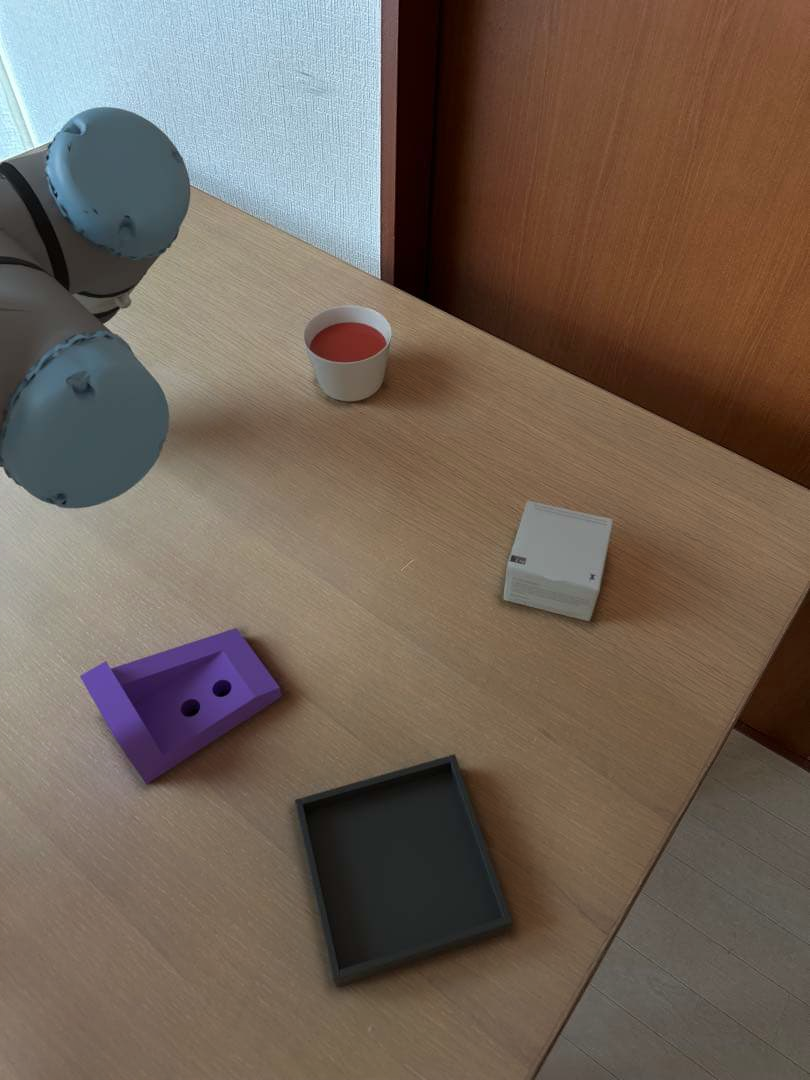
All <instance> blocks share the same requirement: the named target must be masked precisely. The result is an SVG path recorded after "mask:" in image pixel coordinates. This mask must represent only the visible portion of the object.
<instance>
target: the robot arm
mask: <svg viewBox="0 0 810 1080" xmlns="http://www.w3.org/2000/svg"><path fill="white" fill-rule="evenodd" d="M190 201H191V182H190V176H189V172H188V169H187V166H186V164H185V160H184V158H183V156H182V154H181V153H180V152H179V150H178V148H177V146H176V145H175V144H174V143H173V142H172V140H171V139H170V137H168V135H167V134H166V133H164V131H163V130H161V128H159V127H158V126H157V125H156V124H154V123H153V122H152V121H151V120H148V119H147V118H146V117H144V116H141V115H139V114H137V113H135V112H133V111H130V110H127V109H124V108H118V107H113V106H112V107H111V106H110V107H109V106H100V107H93V108H88V109H86V110H83V111H81V112H79V113H77V114H75V115H74V116H73V117H70V119H69V120H68V121H67V122H65V123H64V125H63V126H62V127H61V129H60V131H57V133H56V134H55V135H54V136H53V140H52V141H51V142H50V143H49V144H48V146H47V149H45V150H42V151H38V152H34V153H31V154H27V155H23V156H19V157H15V158H12V159H9V160H5V161H3V162H0V468H3V470H4V473H5V475H6V476H7V477H8V479H12V481H13V482H14V483H15V484H16V485H18V486H19V487H22V488H23V489H24V490H25V491H26V492H27V493H28V494H30V495H31V496H33V497H35V498H36V499H38V500H40V501H41V502H44V503H47V504H50V505H52V506H53V505H54V506H57V507H58V508H61V509H62V508H63V509H85V508H90V507H94V506H98V505H99V506H100V505H101V504H103V503H106V502H108V501H111V500H114V499H116V498H118V497H119V496H122V495H123V494H125V493H127V492H128V491H129V490H131V489H132V488H133V487H135V486H136V485H138V483H139V482H140V481H142V479H144V477H145V476H146V475H148V473H149V472H150V471H151V469H152V468H153V467H154V466H155V464H156V462H158V460H159V458H160V456H161V453H162V450H163V447H164V444H165V442H166V441H167V434H168V432H169V427H170V410H169V404H168V400H167V398H166V395H165V392H164V390H163V388H162V386H161V385H160V383H159V382H158V381H157V380H156V378H155V377H154V376H153V374H151V373H150V371H149V370H148V369H147V368H146V367H145V365H144V364H142V362H141V361H140V360H139V359H138V358H137V356H136V355H135V353H134V352H133V350H132V348H131V346H130V344H128V342H127V341H126V340H125V339H124V338H123V337H121V336H120V335H119V334H116V333H113V332H112V331H111V330H110V329H109V328H108V327H107V326H106V325H105V324H106V323H108V322H109V321H111V320H112V319H113V318H114V317H115V316H116V314H118V312H119V311H120V309H121V310H123V309H127V308H130V307H131V304H132V299H131V297H130V295H131V293H133V291H134V290H135V288H136V287H137V285H138V284H139V283H140V281H142V279H143V278H144V277H145V276H146V275H147V272H148V271H149V269H150V268H151V267H152V266H153V265H154V264H155V262H156V261H157V260H158V259H159V257H160V256H161V255H163V254H165V253H166V252H167V249H170V248H171V246H173V245H172V244H173V243H174V242H175V241H177V240H176V239H177V238H178V236H179V232H180V227H181V226H182V224H183V222H184V220H185V218H186V217H187V214H188V210H189V206H190Z"/></svg>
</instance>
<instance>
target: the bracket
mask: <svg viewBox="0 0 810 1080" xmlns="http://www.w3.org/2000/svg"><path fill="white" fill-rule="evenodd" d="M79 677H80V680H81V681H82V683H83V684H84V687H85V688H86V690H87V691H88V694H89V695H90V697H91V699H92V700H93V703H94V704H95V705H96V707H97V709H98V711H99V713H100V714H101V716H102V718H103V720H104V721H105V724H106V725H107V727H108V728H109V730H110V732H111V733H112V735H113V737H114V738H115V740H116V742H117V744H118V745H119V747H120V749H121V750H122V751H123V753H124V754H125V757H126V758H127V759H128V760H129V762H130V763H131V764H132V766H133V768H134V769H135V770H136V772H137V774H138V775H139V776H140V777H141V779H142V780H143V782H144V783H145V785H147V784H149V783H151V782H152V781H154V780H156V779H158V778H159V777H160V776H161V775H163V774H165V773H166V772H168V771H169V770H170V769H172V768H174V767H175V766H177V765H178V764H180V763H181V762H183V761H185V760H187V758H190V757H191V756H192V755H194V754H195V753H197V752H198V751H200V750H202V749H203V748H205V747H207V746H208V745H209V744H211V743H213V742H214V741H216V740H217V739H219V738H220V737H222V736H223V735H225V734H226V733H228V732H230V731H231V730H232V729H234V728H236V727H238V726H239V725H241V724H242V723H243V722H245V721H247V720H248V719H250V718H251V717H253V716H255V715H256V714H257V713H259V712H261V711H262V710H264V709H265V708H267V707H268V706H270V705H271V704H273V703H274V702H276V701H278V700H279V699H281V698H282V697H283V694H282V691H281V687H280V686H279V684H278V683H277V682H276V680H275V679H274V677H273V676H272V675H271V673H270V672H269V670H268V669H267V668H266V666H265V665H264V664H263V662H262V661H261V660H260V659H259V657H258V656H257V654H256V653H255V652H254V650H253V649H252V647H251V646H250V644H249V643H248V642H247V640H246V639H245V638H244V636H243V635H242V633H241V632H240V631H239V630H238V629H237V627H235V628H232V629H231V628H230V629H229V630H225V631H222V632H219V633H216V634H213V635H210V636H207V637H204V638H201V639H198V640H194V641H191V642H188V643H185V644H183V645H178V646H176V647H173V648H170V649H167V650H164V651H160V652H157V653H153V654H151V655H148V656H144V657H142V658H138V659H136V660H133V661H129V662H126V663H124V664H123V663H122V664H120V665H117V666H114V667H110V665H109V663H108V662H107V661H106V660H105V661H103V662H101V663H99V664H98V665H96V666H95V667H93V668H91V669H89V670H87V671H86V672H84V673H82V674H81V675H80V676H79ZM227 691H229V692H228V694H226V695H224V696H219V695H220V694H222V693H224V692H227ZM197 710H198V712H197V713H196V714H194V715H192V716H188V715H189V714H190V713H192V712H194V711H197Z"/></svg>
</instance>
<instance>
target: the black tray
mask: <svg viewBox="0 0 810 1080" xmlns="http://www.w3.org/2000/svg"><path fill="white" fill-rule="evenodd" d="M467 788H468V787H467V786H466V782H465V780H464V777H463V774H462V771H461V768H460V765H459V762H458V759H457V757H456V754H451V755H447V756H444V757H440V758H436V759H433V760H431V761H427V762H423V763H419V764H415V765H412V766H408V767H405V768H402V769H397V770H395V771H391V772H388V773H383V774H381V775H377V776H374V777H370V778H366V779H363V780H360V781H359V780H358V781H356V782H352V783H349V784H346V785H342V786H338V787H335V788H331V789H327V790H325V791H321V792H317V793H313V794H311V795H307V796H303V797H300V798H297V799H294V803H295V808H296V813H297V818H298V823H299V827H300V832H301V836H302V841H303V845H304V846H303V847H304V851H305V856H306V860H307V864H308V869H309V873H310V874H309V875H310V878H311V883H312V888H313V893H314V897H315V902H316V906H317V911H318V916H319V920H320V924H321V928H322V934H323V938H324V942H325V948H326V953H327V957H328V961H329V967H330V971H331V976H332V980H333V982H334V985H335V987H336V988H340V987H342V986H346V985H348V984H352V983H355V982H358V981H361V980H364V979H367V978H370V977H374V976H376V975H380V974H382V973H386V972H389V971H392V970H395V969H398V968H401V967H403V966H404V967H405V966H407V965H410V964H413V963H416V962H420V961H422V960H426V959H429V958H432V957H435V956H438V955H441V954H444V953H447V952H450V951H454V950H456V949H458V948H459V949H460V948H462V947H465V946H468V945H472V944H474V943H478V942H480V941H485V940H487V939H490V938H493V937H496V936H499V935H502V934H505V933H509V932H510V930H511V928H512V925H513V919H512V916H511V913H510V910H509V908H508V905H507V901H506V899H505V896H504V894H503V889H502V887H501V885H500V881H499V879H498V876H497V873H496V870H495V867H494V864H493V861H492V858H491V855H490V852H489V850H488V847H487V844H486V841H485V838H484V834H483V832H482V829H481V826H480V824H479V821H478V817H477V815H476V812H475V809H474V807H473V803H472V801H471V798H470V797H471V796H470V794H469V791H468V789H467Z"/></svg>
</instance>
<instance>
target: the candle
mask: <svg viewBox="0 0 810 1080" xmlns="http://www.w3.org/2000/svg"><path fill="white" fill-rule="evenodd" d="M392 336H393V332H392V326H391V323H390V322H389V320H388V319H387V318H386V317H385V316H384V315H383V314H381V313H380V312H378V311H376V310H374V309H372V308H369V307H367V306H366V307H365V306H360V305H351V304H350V305H349V304H347V305H338V306H334V307H329V308H327V309H325V310H322V311H320V312H318V313H316V314H315V315H313V316H312V317H311V318H310V319H309V320H308V321H307V323H306V324H305V326H304V328H303V331H302V341H303V344H304V348H305V350H306V353H307V355H308V358H309V361H310V364H311V367H312V369H313V373H314V375H315V377H316V380H317V382H318V383H317V384H318V385H319V387H320V389H321V390H322V391H323V392H324V393H325V395H327V396H328V397H330V398H331V399H334V400H337V401H341V402H342V401H343V402H357V401H362V400H365V399H367V398H369V397H371V396H373V395H374V394H376V393H377V392H378V391H379V389H380V388H381V386H382V384H383V382H384V378H385V373H386V370H387V369H386V368H387V364H388V363H387V362H388V357H389V352H390V348H391V347H390V346H391V342H392Z"/></svg>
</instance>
